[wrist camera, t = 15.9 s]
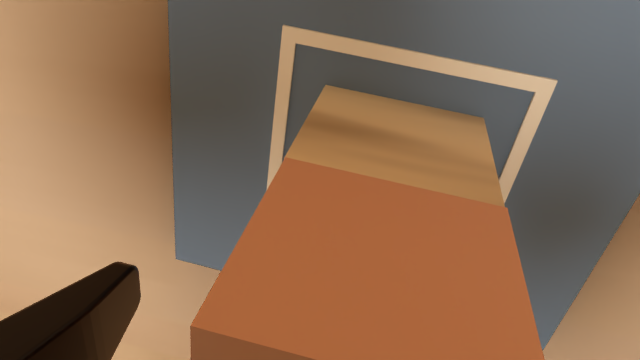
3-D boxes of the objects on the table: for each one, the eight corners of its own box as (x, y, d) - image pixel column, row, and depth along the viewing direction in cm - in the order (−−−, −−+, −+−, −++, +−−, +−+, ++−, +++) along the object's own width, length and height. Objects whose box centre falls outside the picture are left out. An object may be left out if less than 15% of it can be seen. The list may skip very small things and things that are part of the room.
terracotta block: (443, 354, 12) (448, 575, 8) (267, 308, 12) (192, 497, 8) (506, 207, 9) (560, 425, 5) (285, 156, 10) (190, 326, 6)
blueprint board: (538, 339, 17) (541, 354, 17) (182, 249, 19) (174, 260, 18) (737, 5, 11) (754, 11, 10) (175, -96, 12) (162, -96, 12)
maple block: (439, 242, 15) (441, 354, 12) (306, 210, 16) (266, 309, 12) (483, 118, 13) (505, 208, 9) (325, 84, 13) (284, 158, 10)
